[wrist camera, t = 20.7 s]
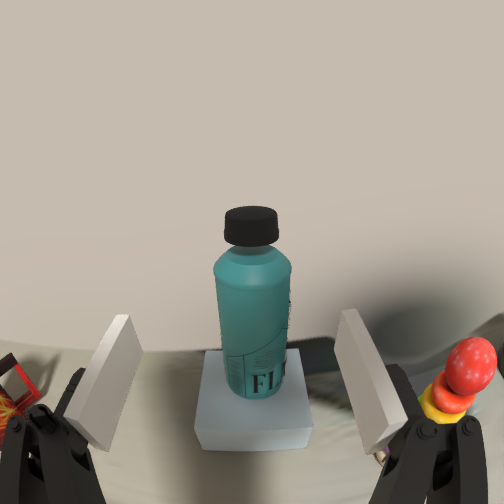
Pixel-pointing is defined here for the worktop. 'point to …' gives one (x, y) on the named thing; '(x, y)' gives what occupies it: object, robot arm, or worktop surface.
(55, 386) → the worktop surface
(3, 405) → the mug
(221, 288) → the beverage bottle
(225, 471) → the worktop surface
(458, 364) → the stacking toy
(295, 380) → the block
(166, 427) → the worktop surface
